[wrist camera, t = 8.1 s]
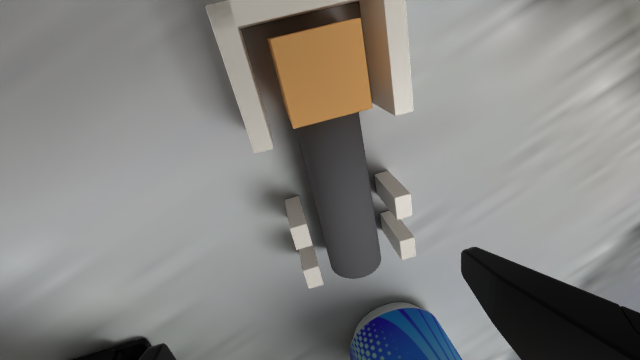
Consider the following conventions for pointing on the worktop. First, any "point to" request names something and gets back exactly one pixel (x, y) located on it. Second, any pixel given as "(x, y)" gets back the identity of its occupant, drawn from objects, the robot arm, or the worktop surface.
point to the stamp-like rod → (332, 135)
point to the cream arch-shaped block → (278, 3)
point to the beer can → (401, 335)
